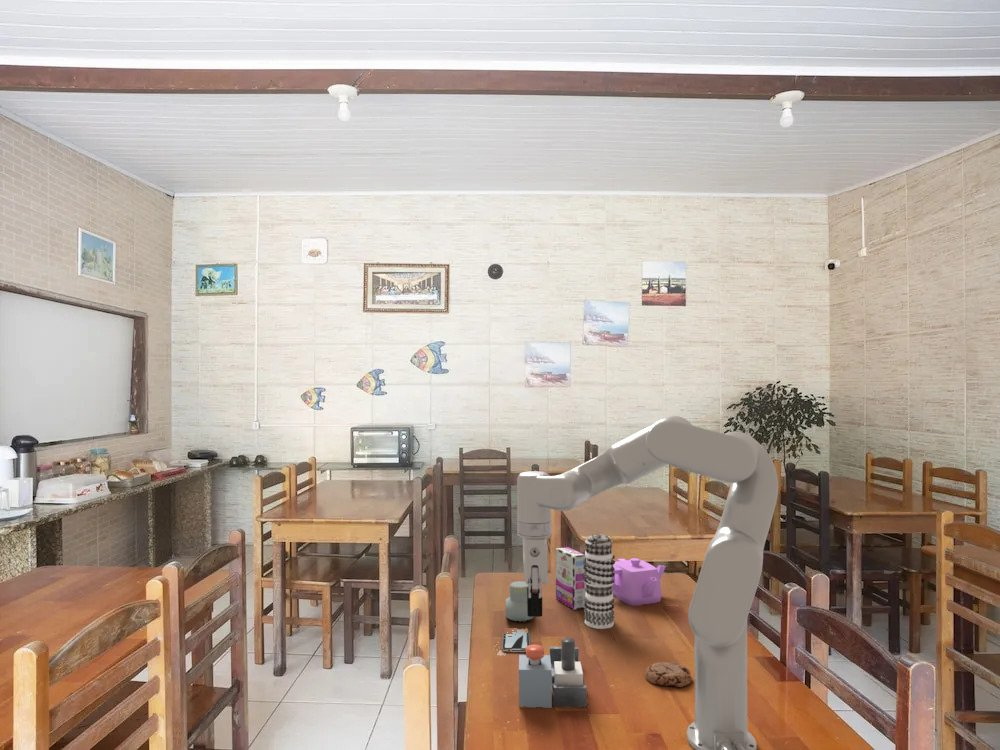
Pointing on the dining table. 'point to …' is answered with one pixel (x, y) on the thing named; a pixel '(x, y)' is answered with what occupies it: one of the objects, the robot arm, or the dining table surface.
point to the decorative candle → (599, 582)
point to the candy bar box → (570, 577)
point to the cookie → (668, 674)
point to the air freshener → (517, 602)
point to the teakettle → (637, 581)
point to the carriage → (567, 666)
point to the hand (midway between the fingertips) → (534, 609)
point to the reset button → (534, 653)
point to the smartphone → (516, 640)
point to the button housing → (535, 682)
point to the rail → (567, 686)
